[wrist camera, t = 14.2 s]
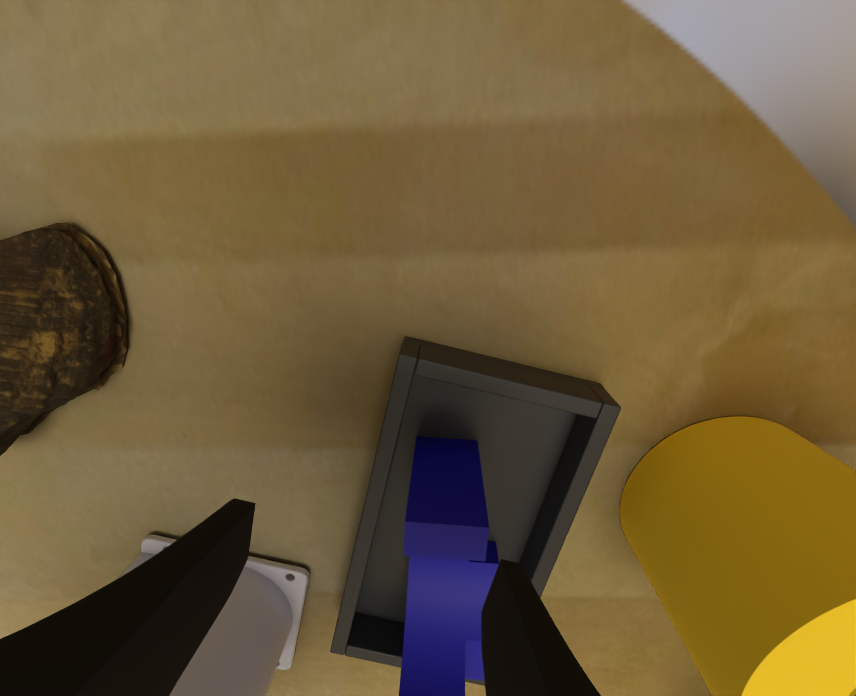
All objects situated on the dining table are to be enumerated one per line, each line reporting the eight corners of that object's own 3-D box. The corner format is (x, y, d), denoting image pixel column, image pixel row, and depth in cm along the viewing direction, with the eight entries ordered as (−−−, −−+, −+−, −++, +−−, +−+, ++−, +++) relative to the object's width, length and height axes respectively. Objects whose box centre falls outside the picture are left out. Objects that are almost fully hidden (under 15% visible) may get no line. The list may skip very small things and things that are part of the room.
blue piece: (485, 625, 24) (497, 752, 19) (407, 619, 24) (395, 743, 19) (508, 442, 21) (531, 530, 15) (416, 436, 21) (404, 521, 15)
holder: (341, 609, 25) (329, 653, 23) (404, 336, 20) (399, 353, 17) (496, 643, 26) (501, 690, 23) (600, 383, 20) (622, 407, 18)
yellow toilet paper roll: (864, 448, 21) (1188, 632, 12) (757, 597, 24) (948, 834, 15) (673, 392, 20) (856, 538, 11) (590, 552, 23) (680, 767, 14)
